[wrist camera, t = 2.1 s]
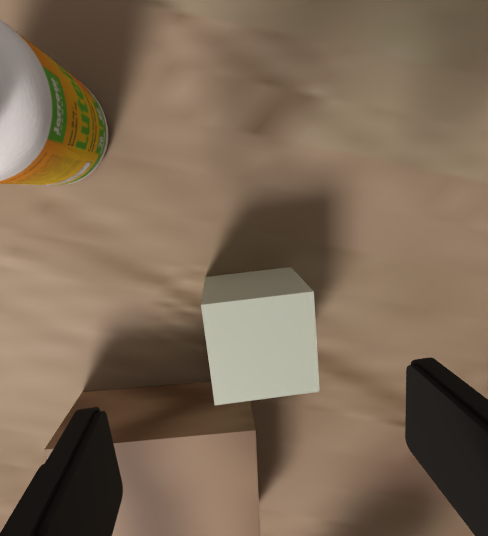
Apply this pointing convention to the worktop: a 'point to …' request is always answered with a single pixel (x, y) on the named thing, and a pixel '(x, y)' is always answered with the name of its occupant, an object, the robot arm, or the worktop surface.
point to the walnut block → (180, 460)
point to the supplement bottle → (45, 118)
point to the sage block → (260, 335)
